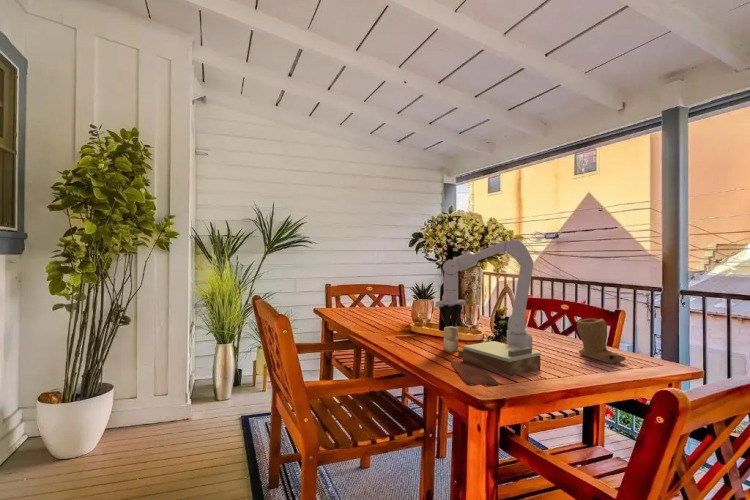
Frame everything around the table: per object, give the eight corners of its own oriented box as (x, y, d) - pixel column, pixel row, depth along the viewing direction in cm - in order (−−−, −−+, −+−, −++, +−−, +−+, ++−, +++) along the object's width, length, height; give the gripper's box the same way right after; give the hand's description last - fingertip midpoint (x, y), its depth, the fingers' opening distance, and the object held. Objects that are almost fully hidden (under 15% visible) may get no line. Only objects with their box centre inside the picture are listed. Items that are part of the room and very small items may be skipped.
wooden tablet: (500, 387, 120) (500, 382, 120) (466, 387, 119) (467, 382, 119) (475, 362, 146) (475, 357, 146) (447, 362, 146) (447, 357, 146)
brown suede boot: (569, 354, 158) (570, 315, 158) (597, 353, 159) (598, 315, 159) (596, 365, 143) (596, 322, 143) (626, 364, 144) (627, 322, 144)
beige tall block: (450, 348, 165) (451, 326, 165) (457, 350, 161) (458, 328, 161) (443, 349, 162) (443, 327, 162) (450, 351, 159) (450, 328, 159)
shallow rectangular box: (478, 351, 160) (478, 340, 160) (540, 369, 137) (540, 355, 137) (448, 357, 151) (449, 344, 151) (509, 376, 128) (509, 362, 128)
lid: (493, 343, 154) (493, 336, 154) (540, 355, 137) (540, 347, 137) (463, 348, 145) (463, 341, 145) (509, 362, 128) (509, 353, 128)
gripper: (457, 288, 169) (456, 320, 169) (430, 289, 161) (430, 323, 161) (469, 289, 163) (469, 323, 163) (442, 291, 156) (442, 326, 156)
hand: (450, 323), depth 162 cm, fingers open, 3 cm apart
